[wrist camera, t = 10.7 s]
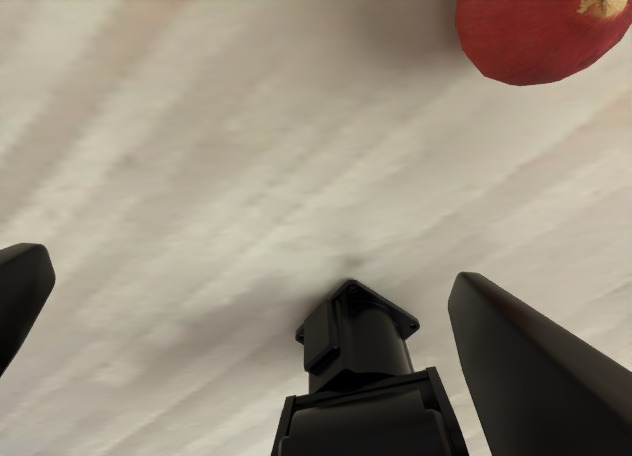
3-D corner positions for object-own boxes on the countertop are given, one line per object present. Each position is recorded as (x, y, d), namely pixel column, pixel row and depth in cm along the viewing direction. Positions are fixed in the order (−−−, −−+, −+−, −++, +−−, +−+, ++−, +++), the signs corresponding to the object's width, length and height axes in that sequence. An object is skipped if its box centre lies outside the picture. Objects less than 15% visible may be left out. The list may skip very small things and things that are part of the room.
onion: (578, -89, 15) (800, -171, 8) (550, 63, 18) (698, 96, 11) (435, -69, 16) (535, -131, 9) (430, 78, 18) (501, 119, 12)
